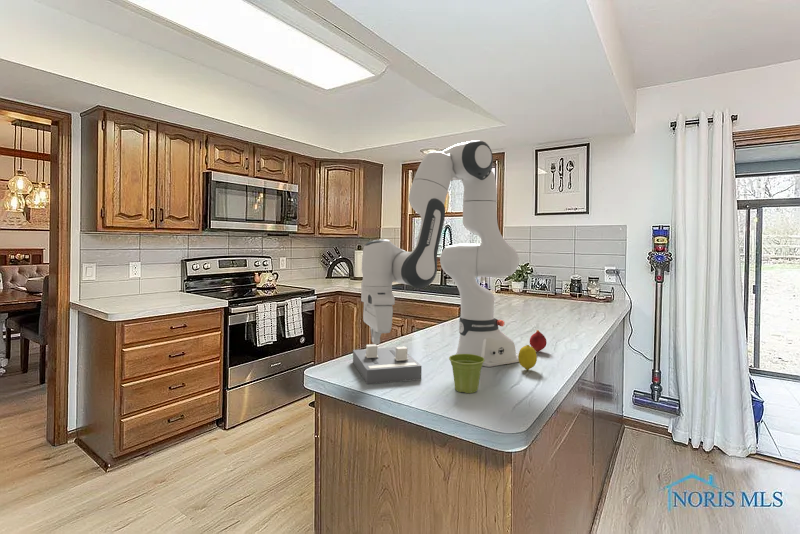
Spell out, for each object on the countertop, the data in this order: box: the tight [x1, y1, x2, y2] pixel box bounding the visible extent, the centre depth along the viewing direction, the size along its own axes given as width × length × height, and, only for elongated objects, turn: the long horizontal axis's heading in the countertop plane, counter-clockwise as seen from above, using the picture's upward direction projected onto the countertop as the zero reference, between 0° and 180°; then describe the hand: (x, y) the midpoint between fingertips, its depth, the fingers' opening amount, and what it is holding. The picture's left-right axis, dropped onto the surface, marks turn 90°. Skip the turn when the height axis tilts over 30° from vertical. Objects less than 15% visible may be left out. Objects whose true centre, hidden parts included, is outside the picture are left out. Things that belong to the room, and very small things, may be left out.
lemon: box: [518, 344, 538, 371], centre depth 134 cm, size 6×6×8 cm
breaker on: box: [394, 346, 409, 361], centre depth 129 cm, size 4×3×4 cm
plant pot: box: [448, 354, 485, 394], centre depth 116 cm, size 9×9×9 cm
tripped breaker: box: [365, 343, 379, 358], centre depth 132 cm, size 4×3×4 cm
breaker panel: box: [352, 346, 422, 385], centre depth 132 cm, size 16×22×4 cm
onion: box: [529, 329, 547, 353], centre depth 156 cm, size 6×6×8 cm
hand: (375, 343), depth 124 cm, fingers closed
